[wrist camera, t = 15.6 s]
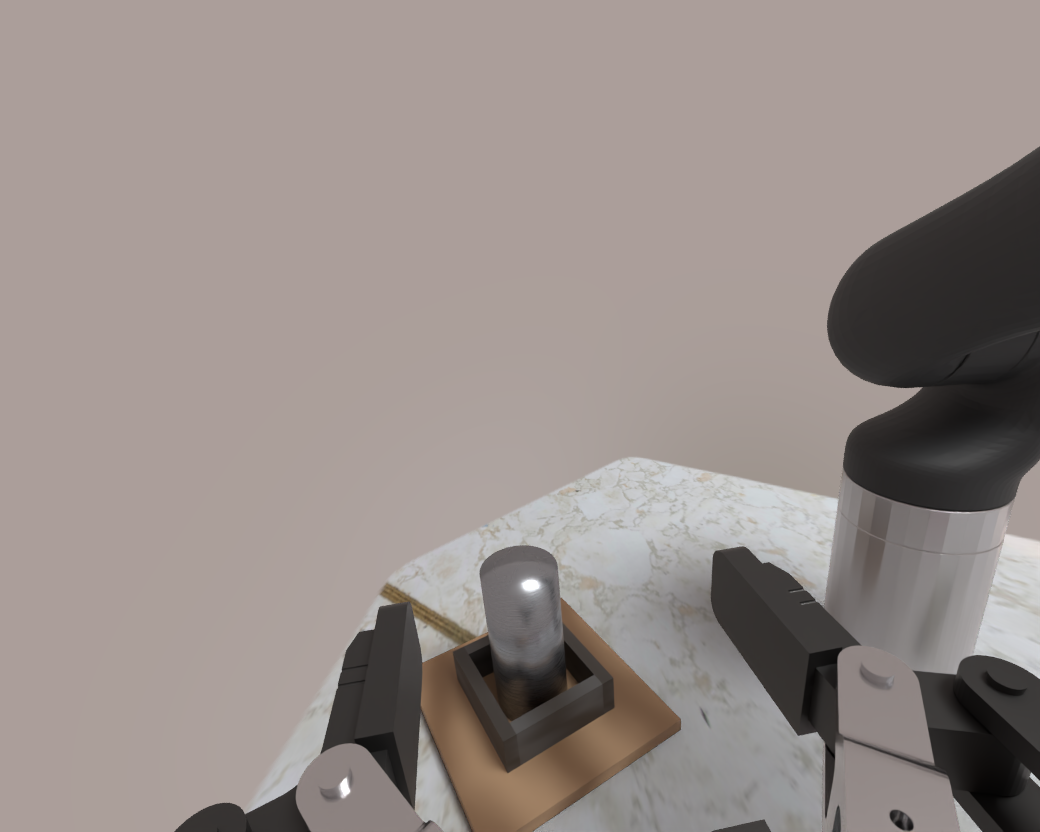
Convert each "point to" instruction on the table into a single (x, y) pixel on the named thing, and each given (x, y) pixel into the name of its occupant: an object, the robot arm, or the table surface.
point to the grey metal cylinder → (524, 627)
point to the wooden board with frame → (538, 730)
